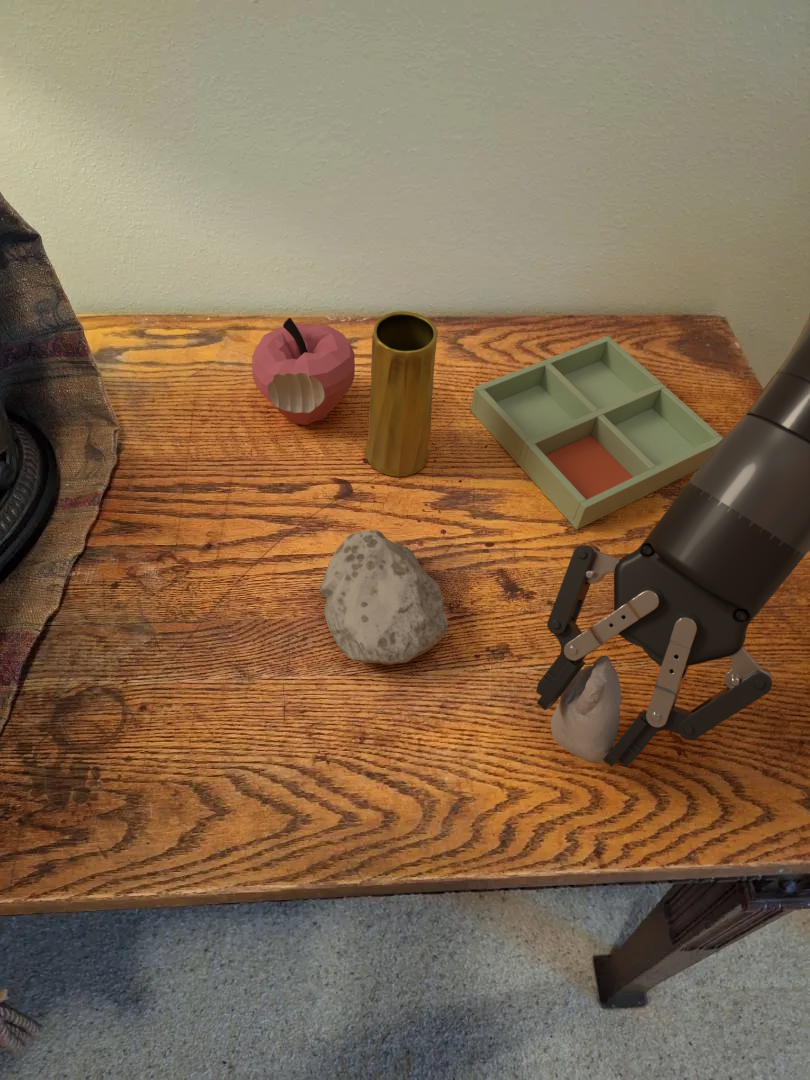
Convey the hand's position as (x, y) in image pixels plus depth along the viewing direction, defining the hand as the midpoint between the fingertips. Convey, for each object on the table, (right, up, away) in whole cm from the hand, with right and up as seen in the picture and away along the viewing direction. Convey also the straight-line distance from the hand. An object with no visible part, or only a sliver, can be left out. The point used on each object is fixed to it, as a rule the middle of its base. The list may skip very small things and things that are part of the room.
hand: (577, 731), depth 46 cm
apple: (-21, +25, +26) cm, 41 cm away
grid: (+7, +23, +26) cm, 35 cm away
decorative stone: (-13, +7, +13) cm, 20 cm away
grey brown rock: (+1, -2, +6) cm, 7 cm away
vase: (-12, +20, +23) cm, 33 cm away
